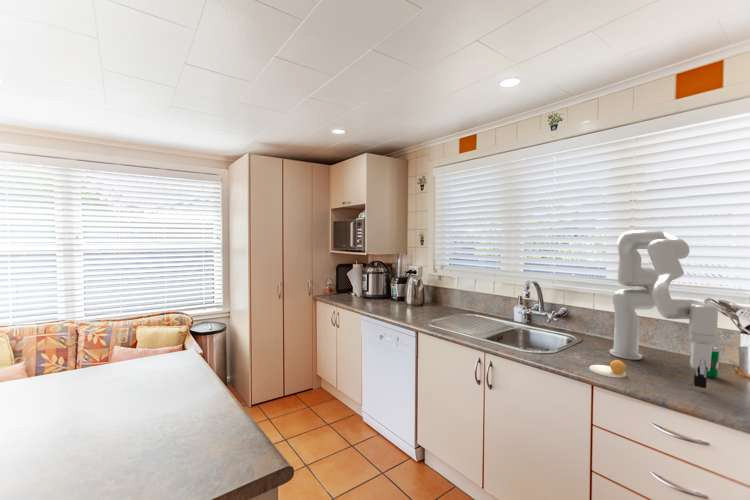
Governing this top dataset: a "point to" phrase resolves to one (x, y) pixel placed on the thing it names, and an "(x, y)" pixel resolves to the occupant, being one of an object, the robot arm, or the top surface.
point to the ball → (618, 367)
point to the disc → (605, 371)
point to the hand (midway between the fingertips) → (699, 386)
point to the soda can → (713, 364)
